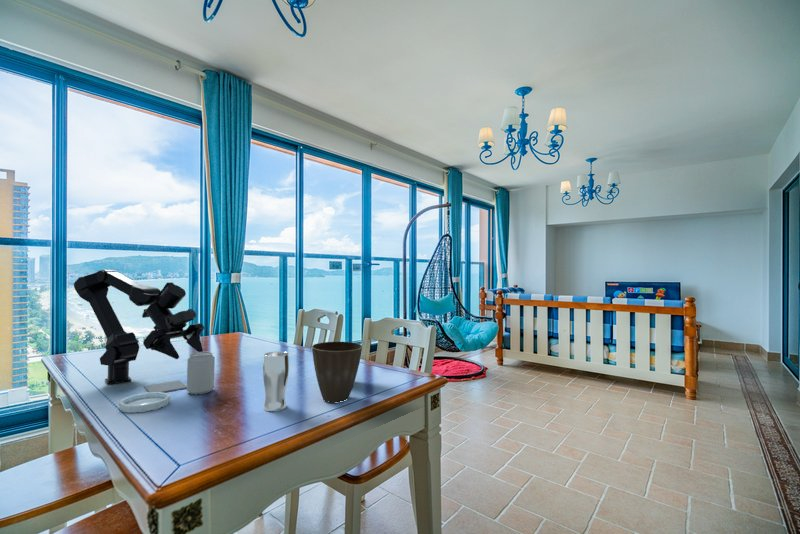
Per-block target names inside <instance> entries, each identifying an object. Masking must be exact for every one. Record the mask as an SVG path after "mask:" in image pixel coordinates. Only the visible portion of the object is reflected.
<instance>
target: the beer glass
mask: <svg viewBox="0 0 800 534" xmlns="http://www.w3.org/2000/svg"><path fill="white" fill-rule="evenodd" d="M289 358H290V356H289V352H287V351H269V352H266V353H263V363H262V378H263V380H262V381H263V385H264V391H265V392H264V393H265V395H264V403H263V411H265V412H269V411H271V412H272V411H275V412H280V411H279V410H281V411H283V410H285V409H286V408H287V401H286V392H287V391H286V389H287V385H288V379H289V372H290V359H289ZM282 409H283V410H282ZM271 412H270V413H271Z"/></svg>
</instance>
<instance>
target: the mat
mask: <svg viewBox="0 0 800 534" xmlns="http://www.w3.org/2000/svg"><path fill="white" fill-rule="evenodd" d="M143 388H144V389H145V390H146V392H147V393H149V392H163V393H169V391H170V392H174V390H175V391H179V390H180V389H181V390H185V389H186V388H187V384H185V383H183V382H182V381H181V380H171V381H166V382H159V383H152V384H148V385H143ZM181 390H180V391H181ZM186 390H187V389H186Z"/></svg>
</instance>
